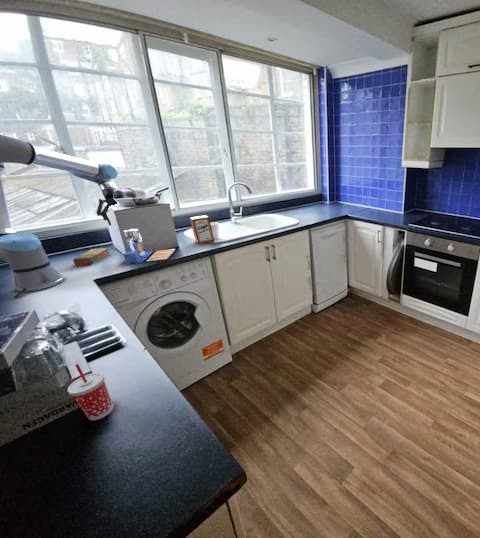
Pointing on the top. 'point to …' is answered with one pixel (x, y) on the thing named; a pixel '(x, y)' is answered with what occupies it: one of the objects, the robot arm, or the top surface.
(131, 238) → the beer glass
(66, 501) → the top surface
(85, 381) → the beverage cup
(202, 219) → the baking soda box
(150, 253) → the blue mat
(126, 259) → the blue block
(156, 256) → the amber mat
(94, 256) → the carton
